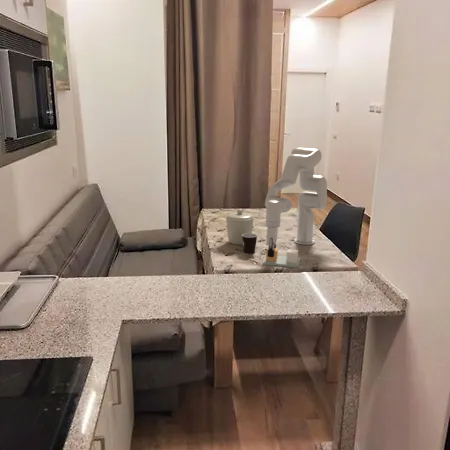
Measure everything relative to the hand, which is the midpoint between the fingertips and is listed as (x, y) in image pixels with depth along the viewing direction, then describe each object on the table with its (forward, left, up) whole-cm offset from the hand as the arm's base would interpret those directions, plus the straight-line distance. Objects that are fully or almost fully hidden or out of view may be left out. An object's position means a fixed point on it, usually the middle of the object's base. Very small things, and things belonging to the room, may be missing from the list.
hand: (271, 253), depth 242 cm
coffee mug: (-14, -15, -4) cm, 21 cm away
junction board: (0, +5, -4) cm, 7 cm away
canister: (-29, -24, -4) cm, 38 cm away
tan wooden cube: (0, 0, -3) cm, 3 cm away
